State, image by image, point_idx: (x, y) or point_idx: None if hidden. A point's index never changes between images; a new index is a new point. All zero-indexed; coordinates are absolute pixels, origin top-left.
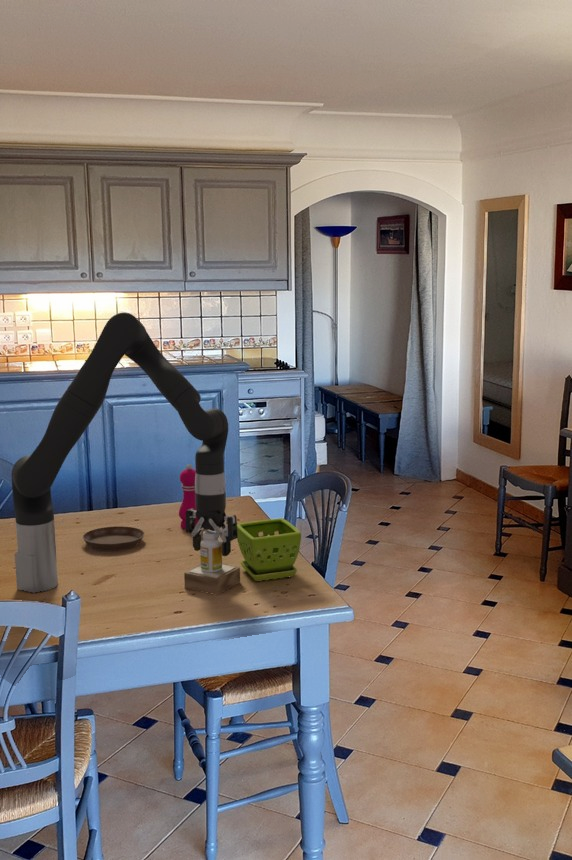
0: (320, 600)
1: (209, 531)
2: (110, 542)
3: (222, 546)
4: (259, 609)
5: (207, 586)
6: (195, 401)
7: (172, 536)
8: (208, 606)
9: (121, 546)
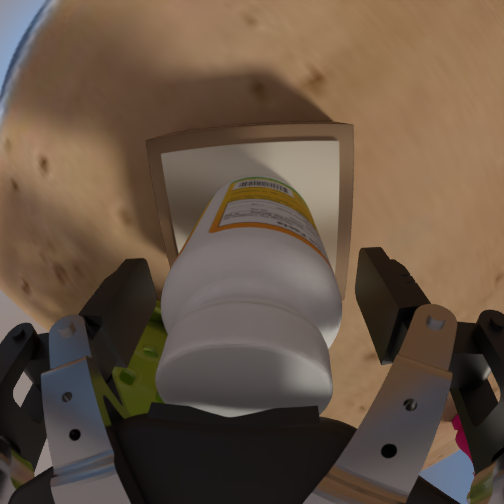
0: (3, 271)
1: (270, 406)
2: None
3: (111, 293)
4: (21, 143)
5: (211, 128)
6: None
7: (489, 379)
8: (130, 43)
9: None
